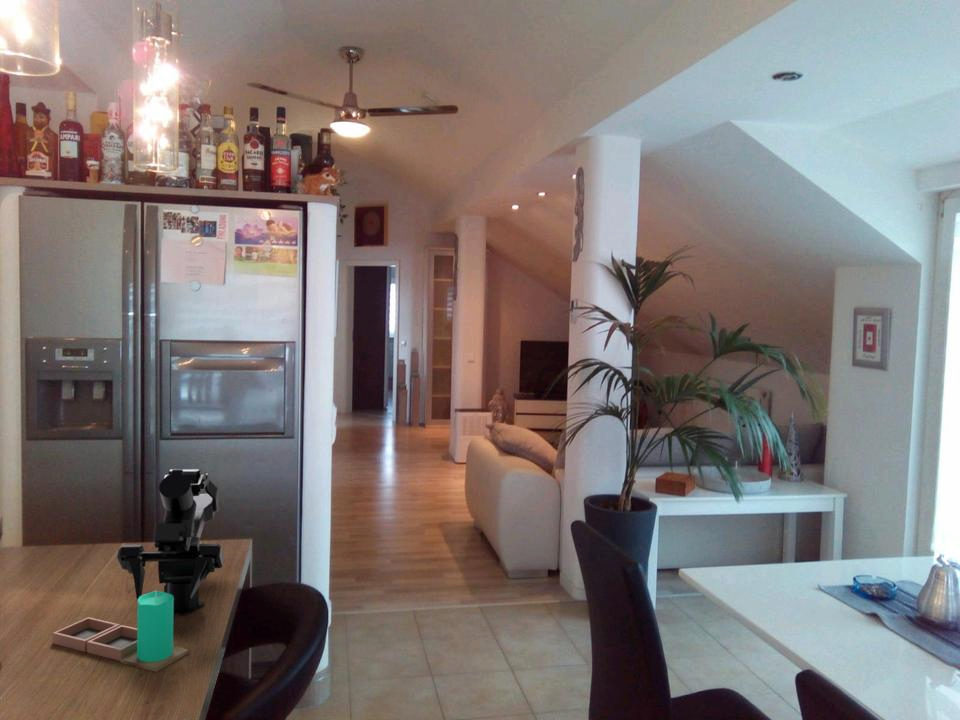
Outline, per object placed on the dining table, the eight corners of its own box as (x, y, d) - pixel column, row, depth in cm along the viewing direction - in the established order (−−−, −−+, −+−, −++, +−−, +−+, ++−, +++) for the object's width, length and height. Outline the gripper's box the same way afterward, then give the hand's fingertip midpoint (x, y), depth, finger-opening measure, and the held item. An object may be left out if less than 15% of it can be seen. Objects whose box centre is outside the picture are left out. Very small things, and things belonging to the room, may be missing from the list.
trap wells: (154, 642, 140) (154, 632, 140) (120, 660, 133) (120, 650, 133) (88, 627, 146) (88, 617, 146) (52, 643, 138) (52, 633, 138)
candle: (136, 649, 136) (137, 585, 135) (171, 644, 139) (172, 581, 138) (137, 664, 131) (138, 597, 130) (174, 658, 133) (175, 593, 132)
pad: (188, 652, 137) (188, 649, 137) (156, 671, 129) (156, 668, 129) (154, 644, 140) (154, 641, 140) (120, 662, 132) (120, 659, 132)
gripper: (120, 504, 142) (101, 581, 132) (222, 503, 145) (210, 579, 135) (132, 531, 151) (114, 606, 141) (227, 530, 154) (217, 604, 144)
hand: (164, 598), depth 140 cm, fingers open, 9 cm apart
